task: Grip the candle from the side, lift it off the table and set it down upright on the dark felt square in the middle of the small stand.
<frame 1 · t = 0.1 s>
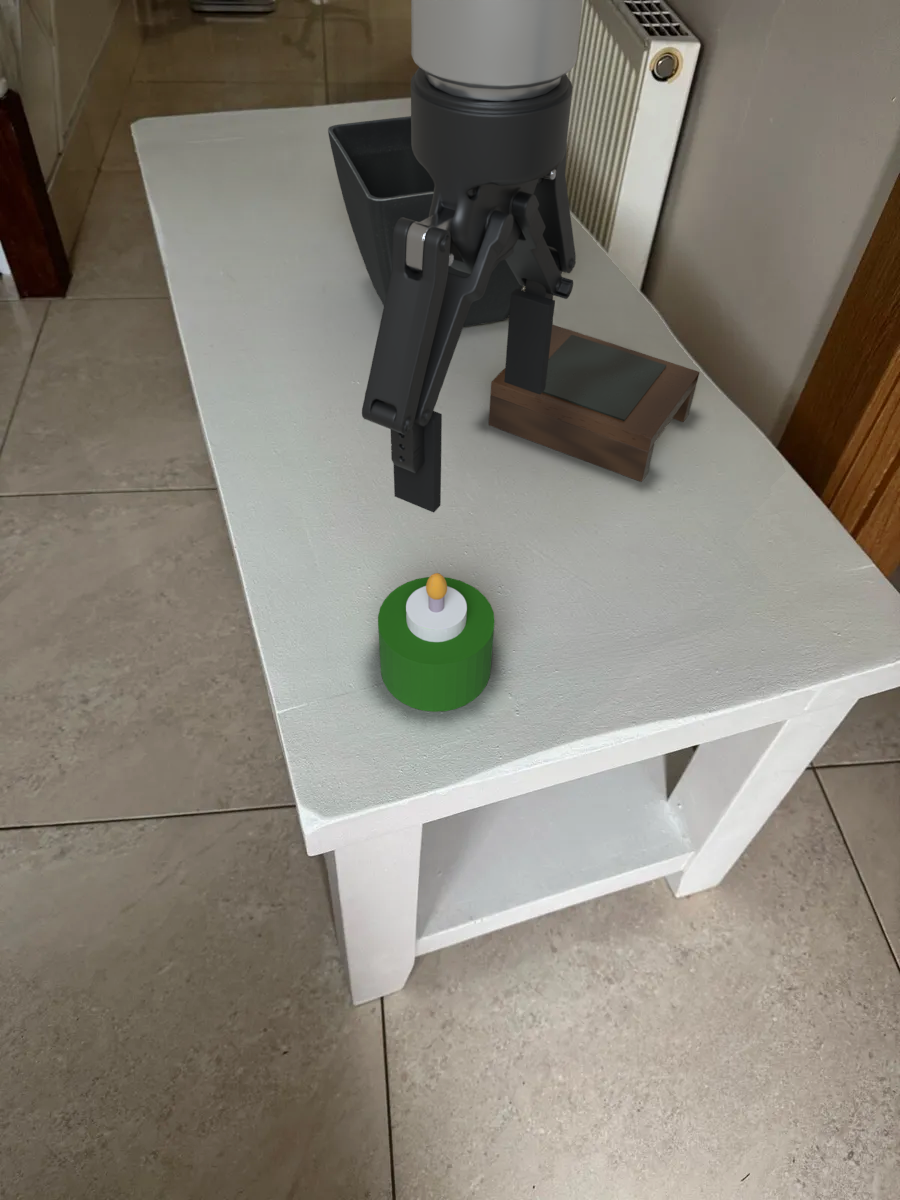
hand: (474, 439, 58), 19 cm above the table, tool pointing down, fingers open, 13 cm apart
small stand: (589, 420, 91), on the table
flower pot: (437, 302, 105), on the table
candle: (435, 668, 70), on the table
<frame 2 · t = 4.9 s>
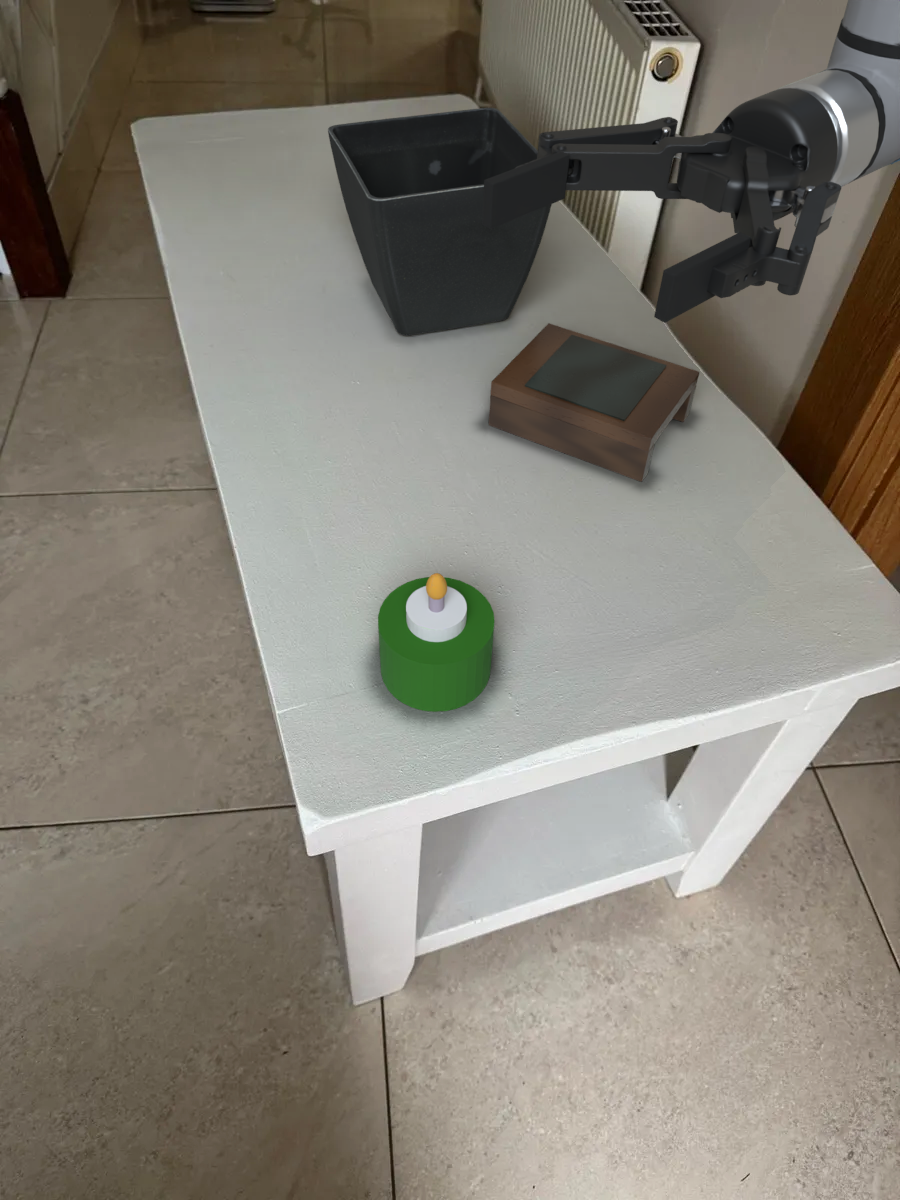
hand: (569, 248, 52), 30 cm above the table, tool horizontal, fingers open, 13 cm apart
nothing on the table moved.
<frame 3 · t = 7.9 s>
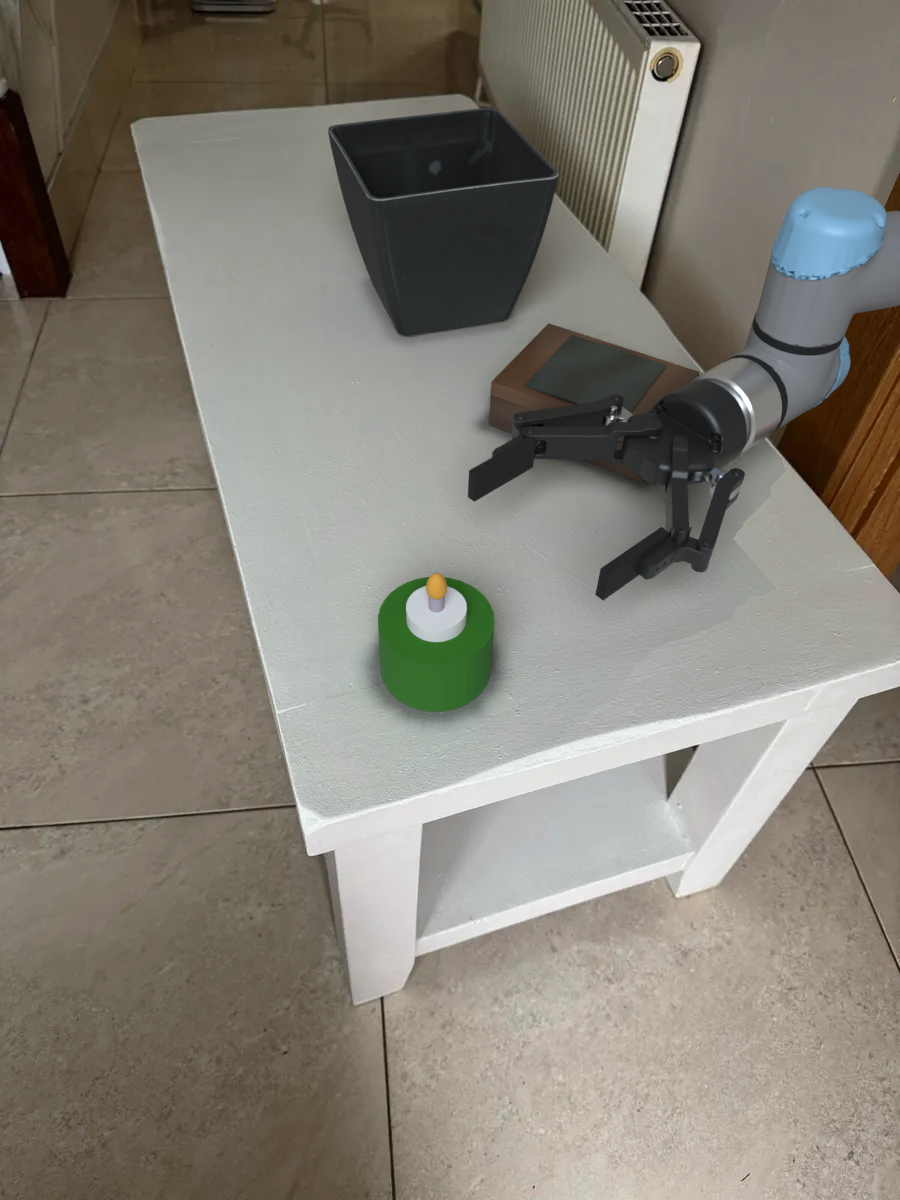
hand: (533, 533, 69), 8 cm above the table, tool horizontal, fingers open, 13 cm apart
nothing on the table moved.
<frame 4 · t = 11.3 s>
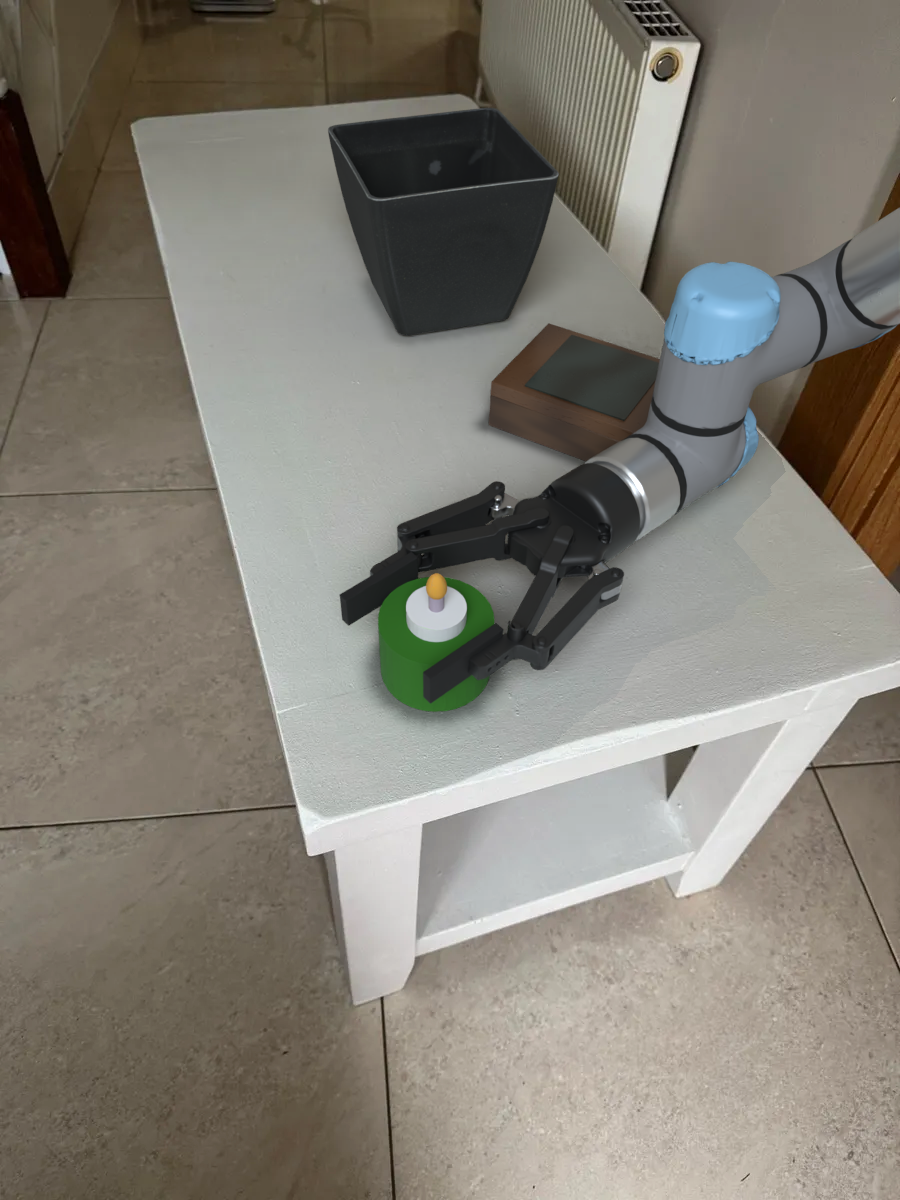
hand: (384, 647, 63), 6 cm above the table, tool horizontal, fingers closed on candle, 8 cm apart
candle: (435, 668, 70), on the table, touching gripper
everything else where it was.
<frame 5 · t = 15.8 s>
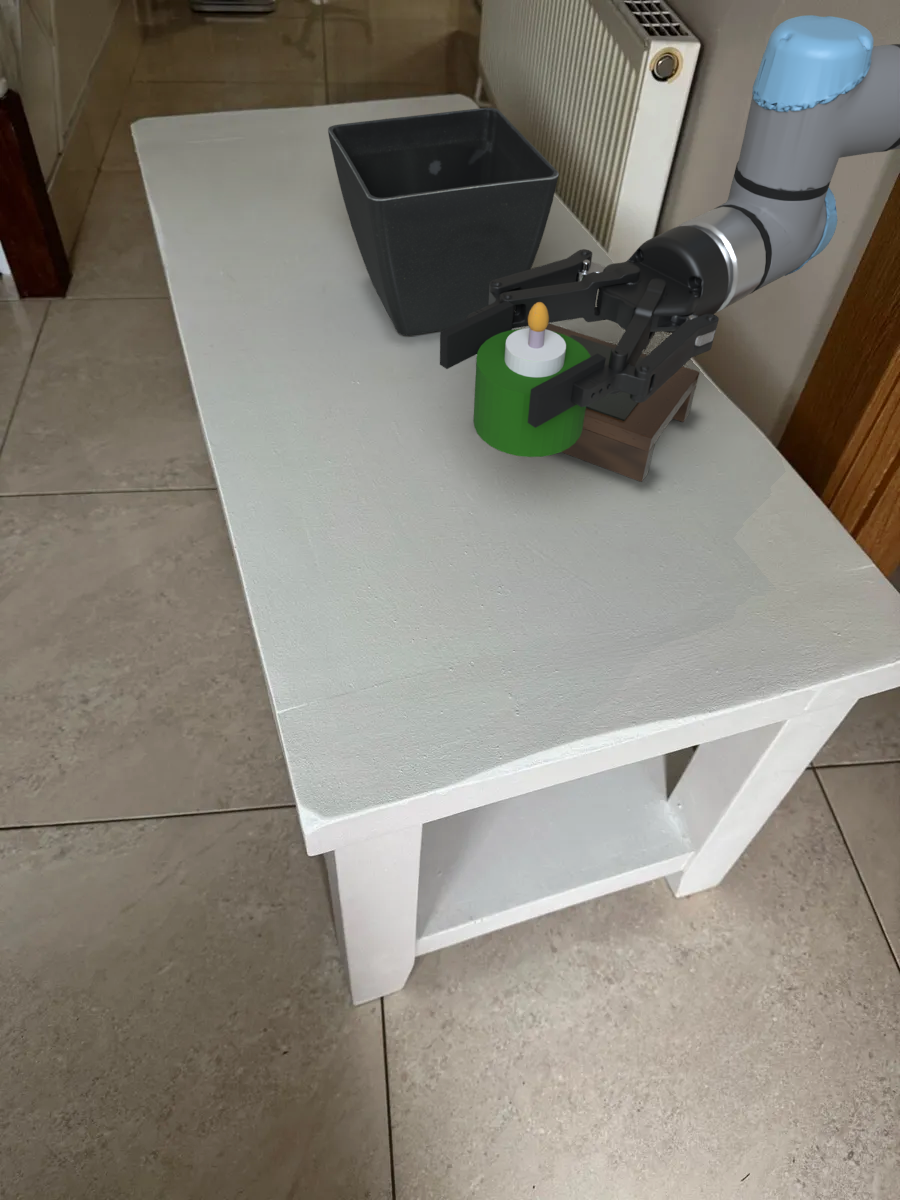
hand: (487, 378, 64), 18 cm above the table, tool horizontal, fingers closed on candle, 8 cm apart
candle: (527, 424, 71), point 12 cm above the table, touching gripper
everything else where it was.
when the fingers open (11 cm above the table, at t = 20.5 s): candle stays where it is, resting on small stand.
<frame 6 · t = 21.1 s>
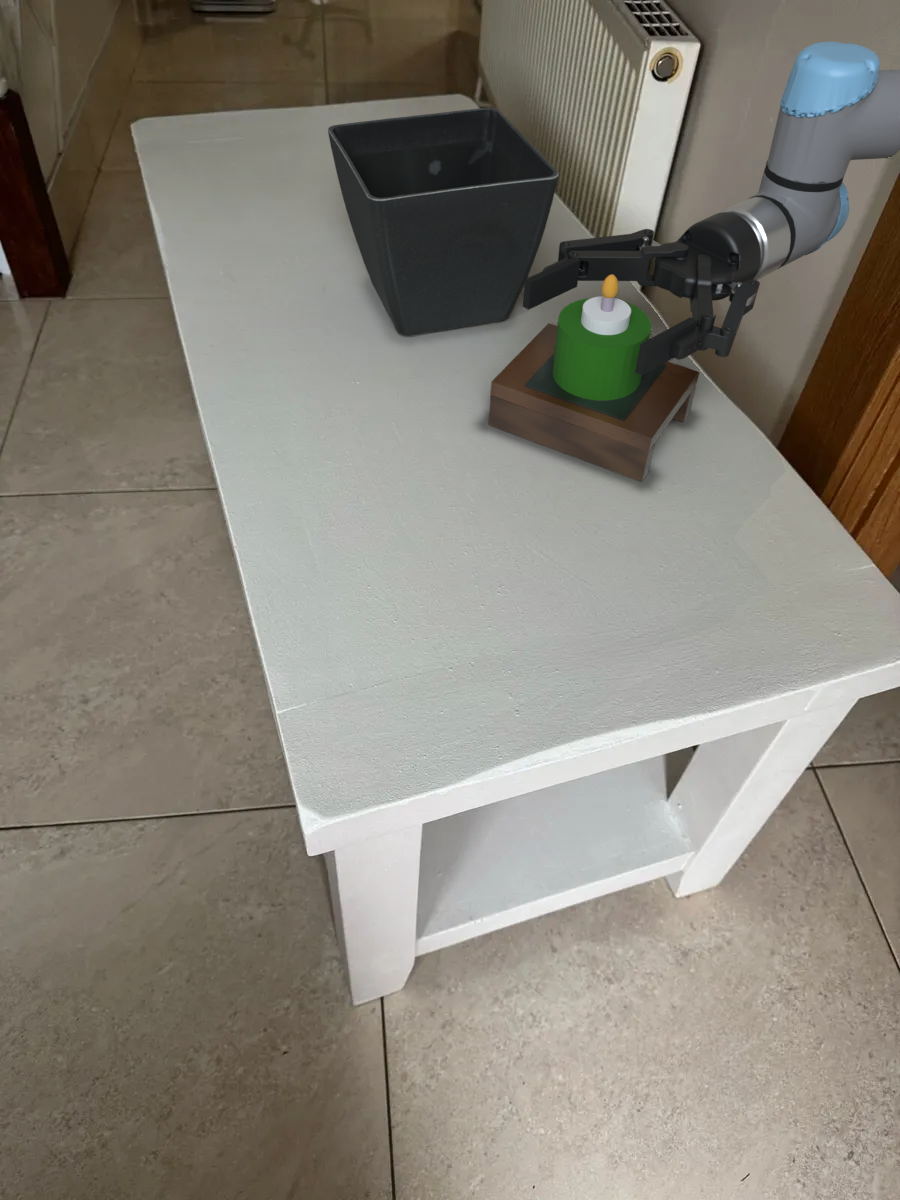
hand: (580, 326, 81), 12 cm above the table, tool horizontal, fingers open, 13 cm apart
candle: (596, 376, 87), point 5 cm above the table, touching small stand
everything else where it was.
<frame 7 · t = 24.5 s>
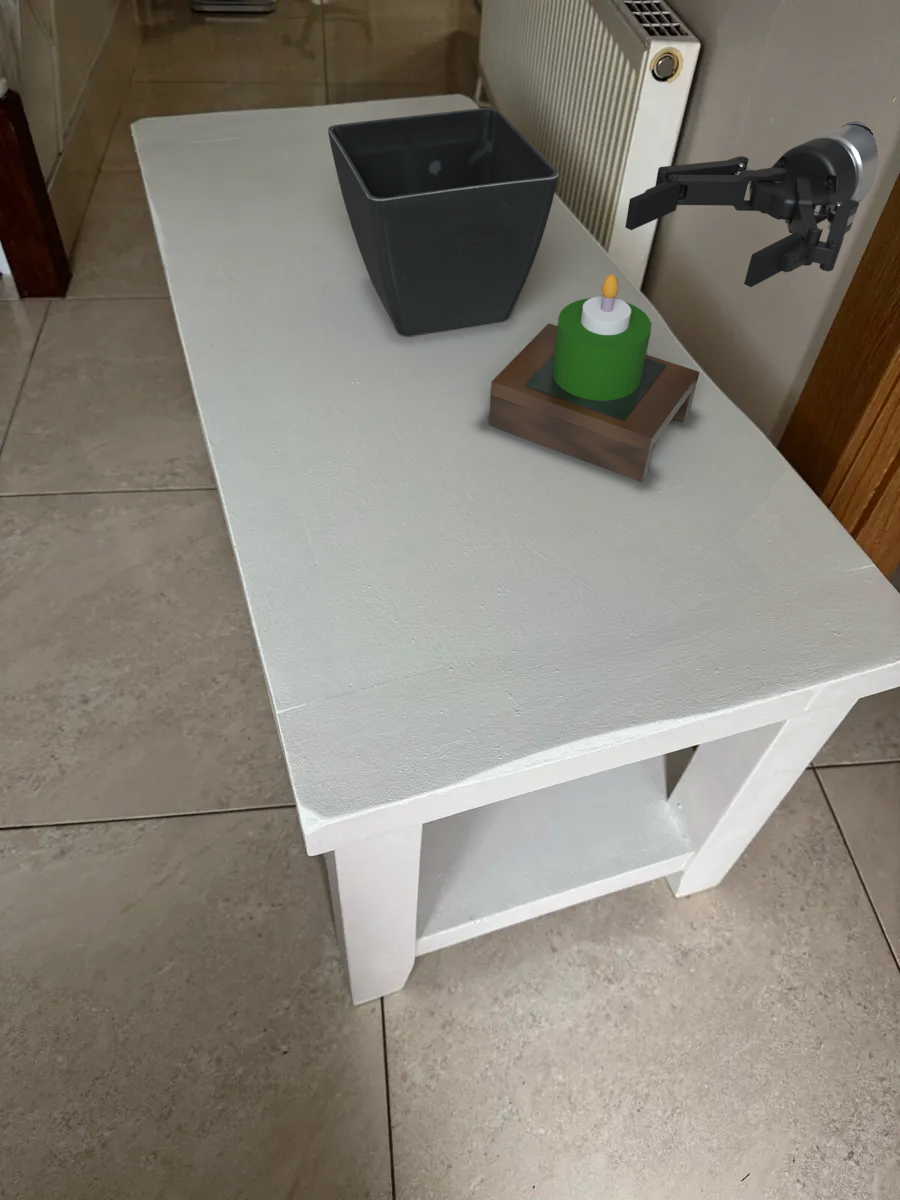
hand: (688, 241, 83), 16 cm above the table, tool horizontal, fingers open, 13 cm apart
nothing on the table moved.
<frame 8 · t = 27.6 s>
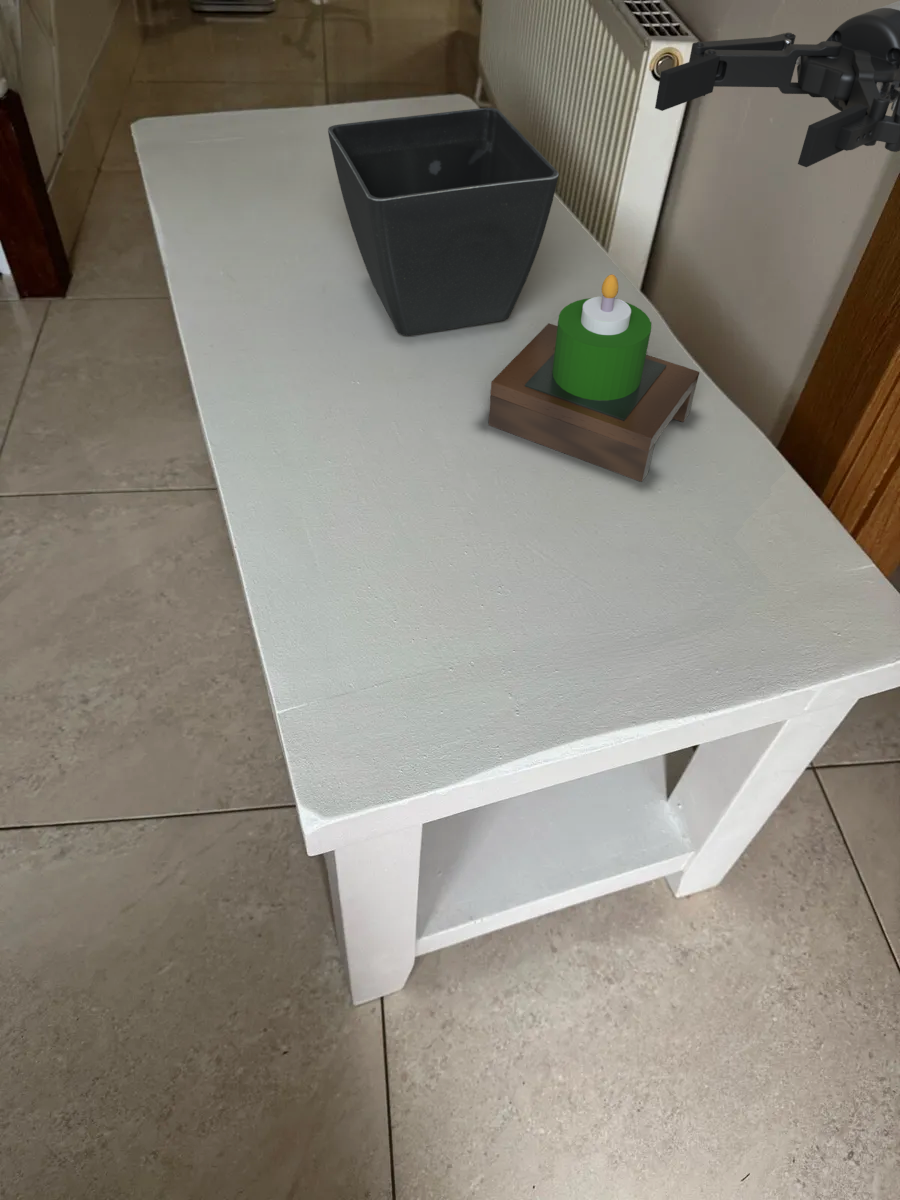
hand: (730, 117, 70), 28 cm above the table, tool horizontal, fingers open, 13 cm apart
nothing on the table moved.
at the end: candle inside the target area on the small stand (0.0 cm from its centre), point 5.0 cm above the small stand's base; candle tilted 0°; the gripper is holding nothing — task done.
